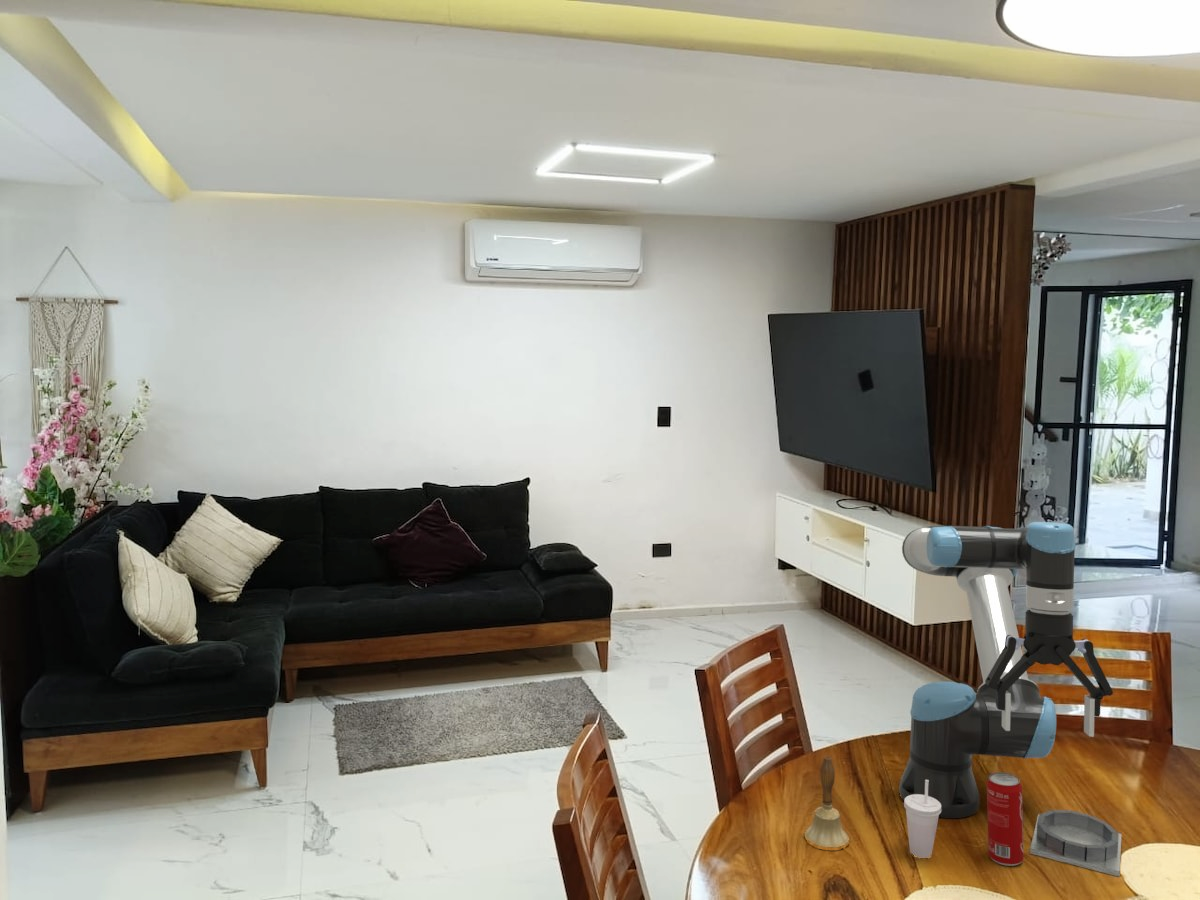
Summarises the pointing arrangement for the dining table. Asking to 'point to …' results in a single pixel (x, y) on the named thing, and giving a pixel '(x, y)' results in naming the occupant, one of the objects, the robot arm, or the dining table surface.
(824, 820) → the hand bell
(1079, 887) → the dining table surface
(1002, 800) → the beverage can
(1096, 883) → the dining table surface
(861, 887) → the dining table surface
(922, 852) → the smoothie
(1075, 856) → the collar
